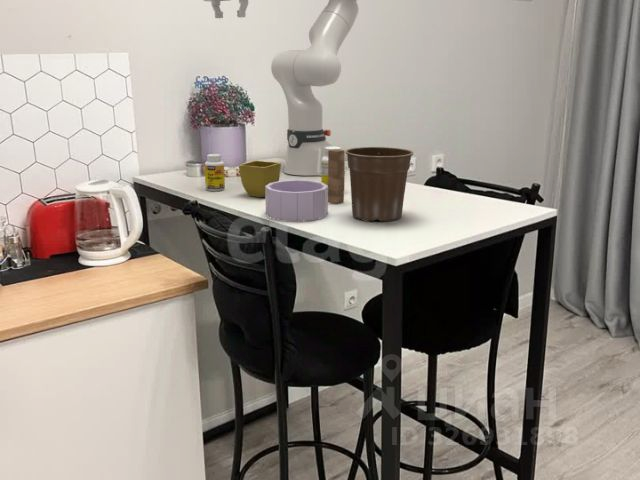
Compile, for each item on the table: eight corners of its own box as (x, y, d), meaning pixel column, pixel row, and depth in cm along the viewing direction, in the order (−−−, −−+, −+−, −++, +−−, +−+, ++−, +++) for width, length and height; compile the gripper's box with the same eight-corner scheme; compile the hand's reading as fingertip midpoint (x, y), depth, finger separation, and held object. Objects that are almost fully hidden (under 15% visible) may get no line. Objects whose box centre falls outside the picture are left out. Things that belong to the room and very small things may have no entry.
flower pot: (238, 196, 179) (237, 164, 177) (256, 190, 187) (255, 160, 184) (265, 200, 175) (264, 167, 173) (282, 194, 183) (281, 162, 180)
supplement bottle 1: (205, 192, 185) (203, 156, 182) (206, 188, 190) (204, 153, 187) (225, 191, 185) (223, 156, 183) (225, 187, 191) (223, 153, 188)
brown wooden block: (335, 200, 175) (335, 149, 171) (343, 202, 173) (344, 150, 169) (327, 202, 173) (328, 150, 169) (336, 204, 171) (337, 151, 167)
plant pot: (369, 205, 170) (371, 144, 166) (422, 215, 160) (425, 150, 156) (331, 217, 158) (331, 151, 153) (386, 228, 148) (388, 158, 144)
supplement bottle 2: (345, 190, 188) (345, 146, 184) (343, 195, 182) (344, 149, 178) (322, 189, 189) (322, 145, 185) (320, 194, 182) (320, 149, 179)
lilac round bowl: (296, 203, 171) (296, 177, 169) (339, 213, 162) (339, 185, 160) (254, 213, 161) (253, 186, 159) (297, 224, 151) (297, 195, 149)
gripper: (263, -38, 171) (264, 17, 175) (213, -33, 184) (215, 19, 188) (245, -41, 166) (246, 16, 170) (195, -35, 179) (198, 18, 183)
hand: (230, 17), depth 179 cm, fingers open, 8 cm apart
